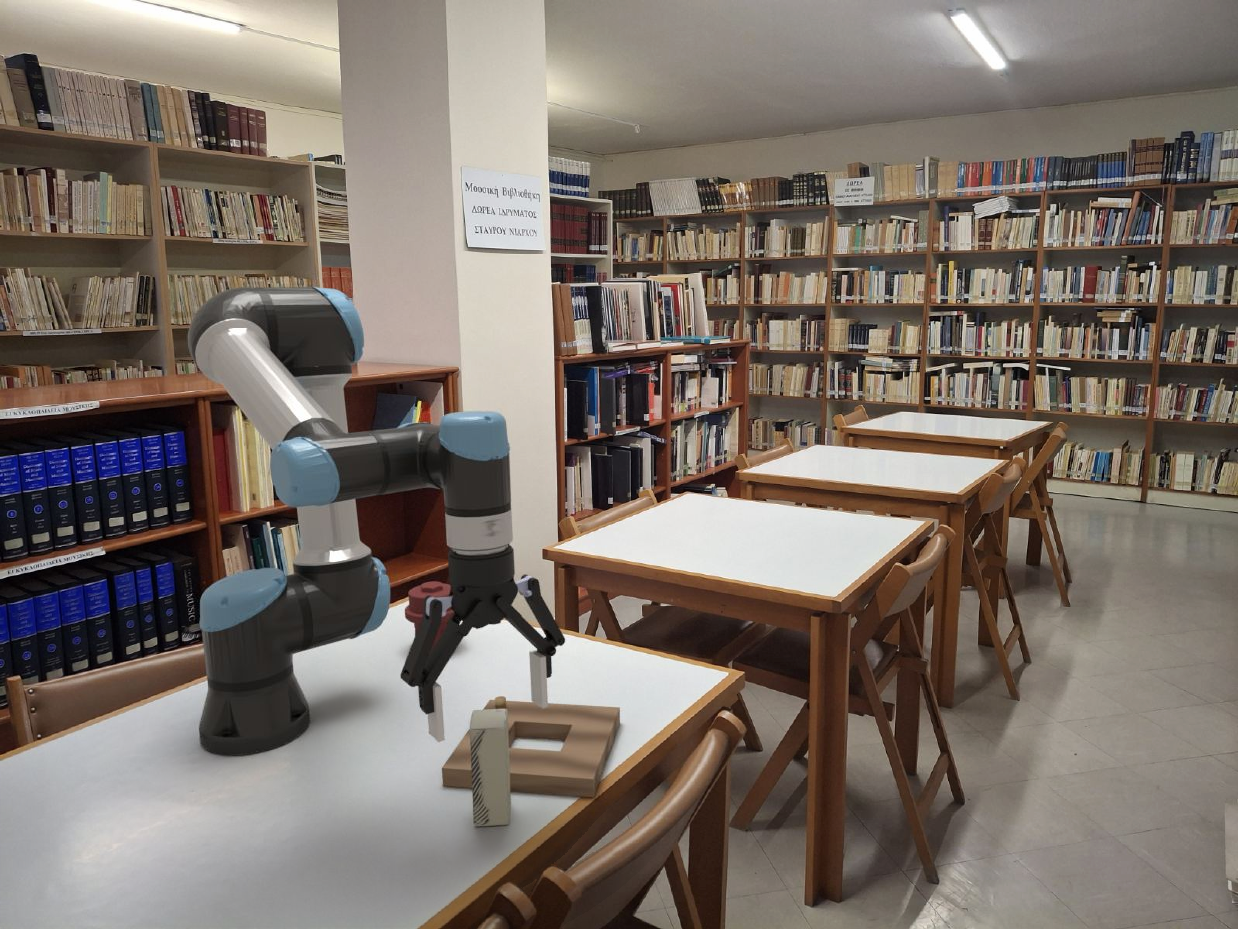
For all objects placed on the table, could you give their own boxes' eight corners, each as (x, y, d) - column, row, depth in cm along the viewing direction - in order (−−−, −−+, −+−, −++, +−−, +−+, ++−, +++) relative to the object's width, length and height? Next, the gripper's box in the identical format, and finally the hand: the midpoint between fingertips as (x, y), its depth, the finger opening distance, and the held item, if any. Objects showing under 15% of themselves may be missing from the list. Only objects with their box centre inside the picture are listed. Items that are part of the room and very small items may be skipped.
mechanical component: (471, 640, 161) (450, 661, 151) (421, 637, 163) (397, 658, 153) (468, 577, 159) (446, 594, 149) (417, 575, 161) (393, 592, 151)
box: (476, 804, 107) (471, 708, 105) (512, 802, 107) (508, 706, 105) (473, 829, 102) (467, 728, 99) (510, 827, 102) (506, 726, 100)
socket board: (593, 797, 108) (593, 768, 107) (442, 785, 111) (441, 757, 111) (620, 723, 127) (619, 698, 127) (490, 715, 131) (489, 690, 130)
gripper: (387, 574, 88) (401, 765, 92) (589, 534, 103) (594, 701, 106) (362, 559, 94) (376, 739, 98) (556, 524, 109) (562, 682, 112)
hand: (490, 720), depth 102 cm, fingers open, 13 cm apart
